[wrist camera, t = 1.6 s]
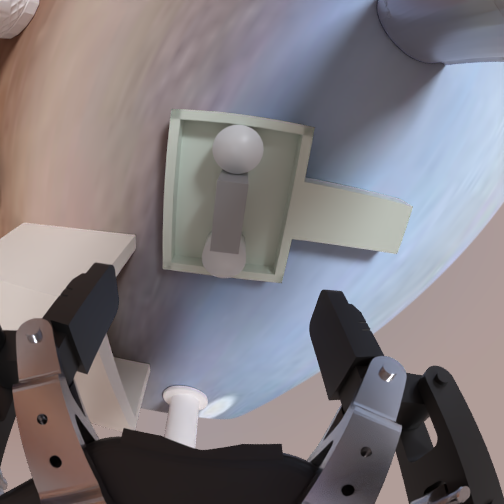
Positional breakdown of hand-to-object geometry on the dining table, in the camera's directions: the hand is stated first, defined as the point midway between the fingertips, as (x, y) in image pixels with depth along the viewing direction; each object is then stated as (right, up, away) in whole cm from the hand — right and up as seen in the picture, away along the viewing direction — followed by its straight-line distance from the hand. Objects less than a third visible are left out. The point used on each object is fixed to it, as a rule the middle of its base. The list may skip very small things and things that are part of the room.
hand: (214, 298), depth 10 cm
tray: (+5, +6, +14) cm, 16 cm away
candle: (-9, -21, +28) cm, 36 cm away
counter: (-19, -5, +19) cm, 27 cm away
